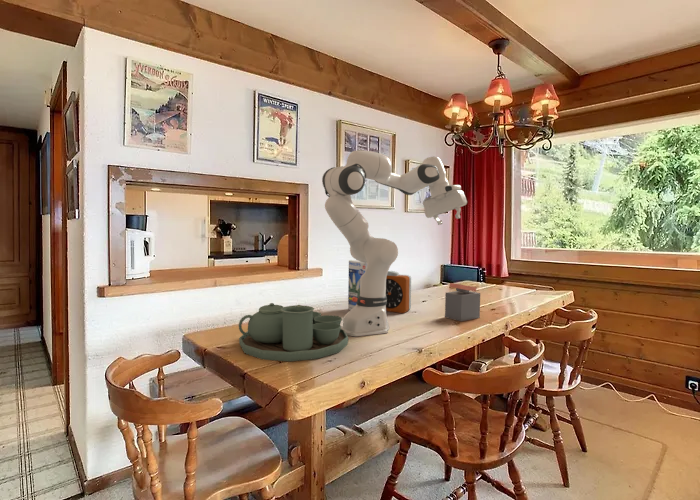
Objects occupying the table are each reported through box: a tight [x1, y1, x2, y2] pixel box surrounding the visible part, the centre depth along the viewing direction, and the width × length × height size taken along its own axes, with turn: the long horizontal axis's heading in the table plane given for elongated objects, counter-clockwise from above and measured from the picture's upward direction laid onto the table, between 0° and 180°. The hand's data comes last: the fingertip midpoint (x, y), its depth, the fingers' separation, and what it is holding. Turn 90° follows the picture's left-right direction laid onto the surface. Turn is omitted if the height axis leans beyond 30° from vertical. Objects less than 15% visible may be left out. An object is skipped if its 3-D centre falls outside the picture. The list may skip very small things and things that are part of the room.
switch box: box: [444, 290, 481, 322], centre depth 197 cm, size 13×10×12 cm
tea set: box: [238, 302, 349, 362], centre depth 153 cm, size 40×40×16 cm
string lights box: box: [347, 259, 367, 311], centre depth 210 cm, size 13×8×26 cm, turn 42°
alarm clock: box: [386, 270, 412, 314], centre depth 212 cm, size 18×9×21 cm, turn 62°
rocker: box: [449, 282, 477, 293], centre depth 196 cm, size 11×7×4 cm, turn 124°
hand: (449, 221), depth 184 cm, fingers open, 8 cm apart
